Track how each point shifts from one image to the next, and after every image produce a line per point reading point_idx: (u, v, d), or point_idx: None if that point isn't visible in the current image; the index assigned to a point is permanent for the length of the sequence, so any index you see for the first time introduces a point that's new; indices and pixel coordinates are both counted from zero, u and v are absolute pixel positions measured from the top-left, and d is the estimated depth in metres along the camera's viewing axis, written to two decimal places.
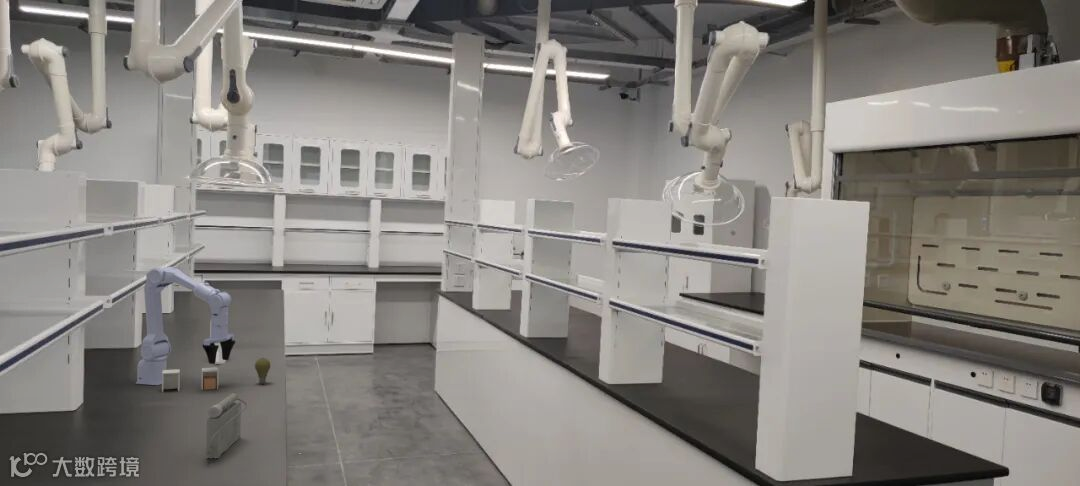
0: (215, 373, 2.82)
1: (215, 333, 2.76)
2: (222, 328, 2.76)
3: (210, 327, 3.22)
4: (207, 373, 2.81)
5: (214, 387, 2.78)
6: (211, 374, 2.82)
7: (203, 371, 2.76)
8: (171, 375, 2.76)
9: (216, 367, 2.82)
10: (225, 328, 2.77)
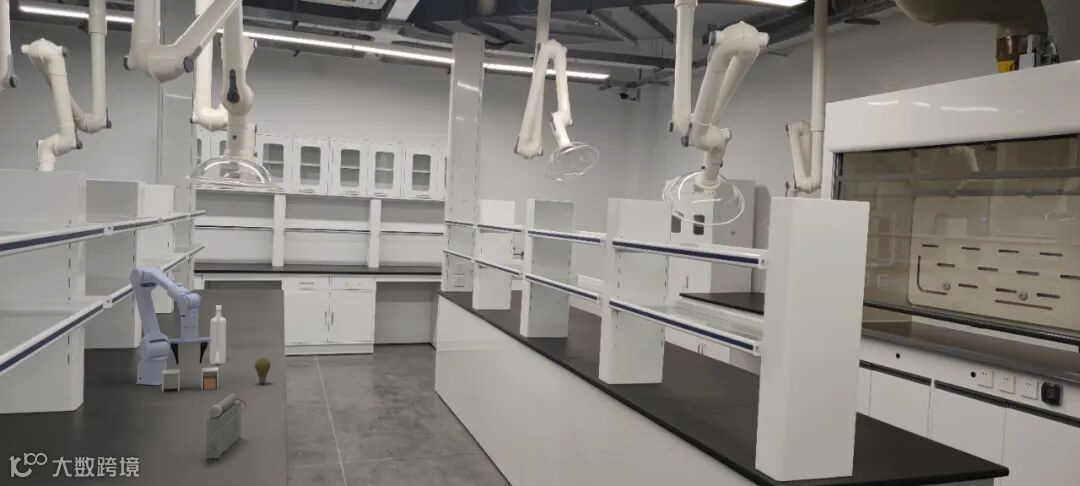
0: (215, 373, 2.82)
1: None
2: (184, 329, 2.73)
3: (210, 327, 3.22)
4: (207, 373, 2.81)
5: (214, 387, 2.78)
6: (211, 374, 2.82)
7: (203, 371, 2.76)
8: (171, 375, 2.76)
9: (216, 367, 2.82)
10: (188, 330, 2.73)
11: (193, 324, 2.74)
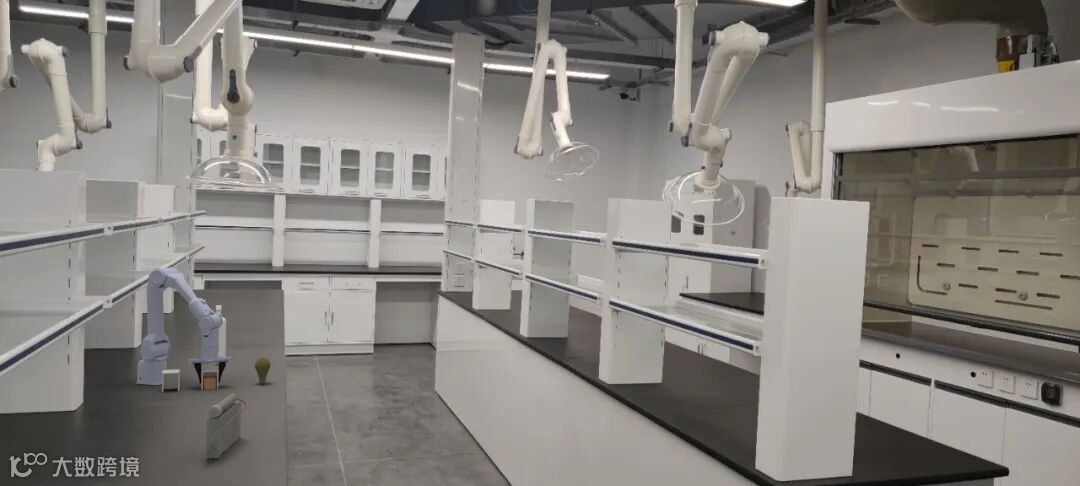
0: (215, 373, 2.82)
1: (202, 354, 2.77)
2: (206, 349, 2.76)
3: None
4: (207, 373, 2.81)
5: (214, 387, 2.78)
6: (211, 374, 2.82)
7: (203, 371, 2.76)
8: (171, 375, 2.76)
9: (216, 367, 2.82)
10: (209, 350, 2.76)
11: (216, 344, 2.78)
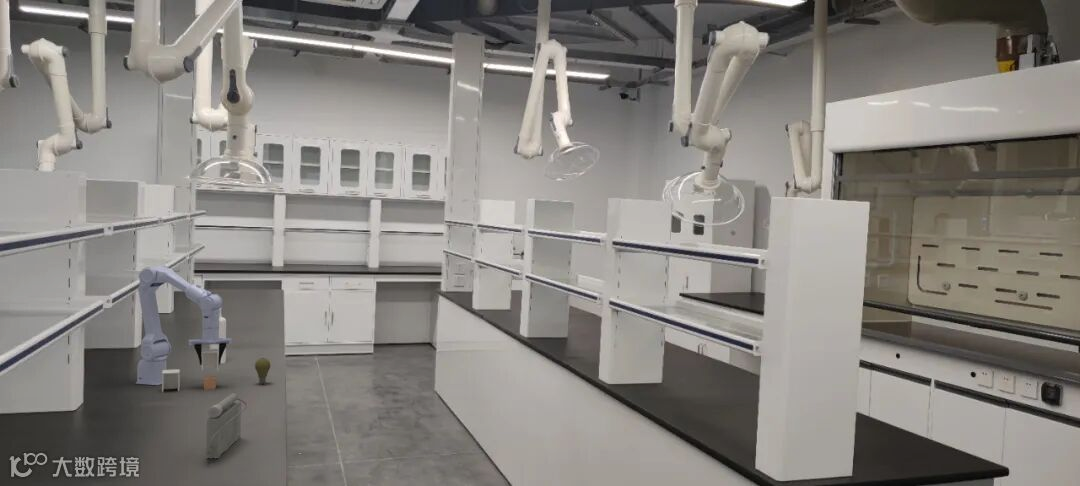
0: (215, 354, 2.82)
1: (202, 335, 2.77)
2: (206, 330, 2.76)
3: None
4: (207, 354, 2.81)
5: (214, 387, 2.78)
6: (211, 355, 2.82)
7: (203, 352, 2.76)
8: (171, 375, 2.76)
9: None
10: (209, 331, 2.76)
11: (216, 325, 2.78)
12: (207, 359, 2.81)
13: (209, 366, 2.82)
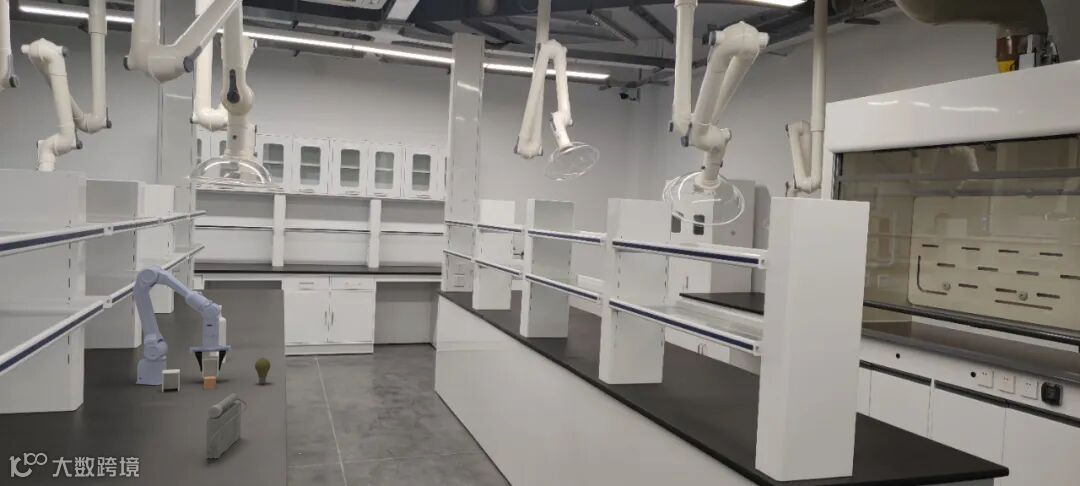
0: (215, 361, 2.91)
1: None
2: (206, 338, 2.85)
3: None
4: (208, 361, 2.90)
5: (214, 387, 2.78)
6: (211, 362, 2.90)
7: (204, 359, 2.84)
8: (171, 375, 2.76)
9: (216, 356, 2.91)
10: (209, 339, 2.85)
11: (218, 332, 2.88)
12: (207, 366, 2.90)
13: (209, 373, 2.90)
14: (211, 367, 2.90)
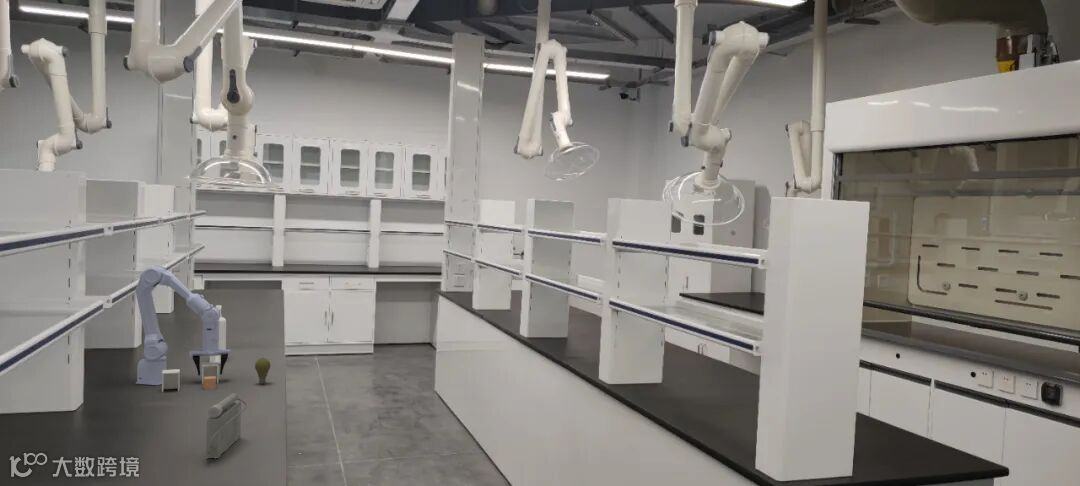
0: (215, 368, 2.91)
1: (202, 346, 2.86)
2: (206, 342, 2.85)
3: None
4: (207, 368, 2.90)
5: (214, 387, 2.78)
6: (211, 369, 2.91)
7: (204, 366, 2.85)
8: (171, 375, 2.76)
9: (216, 362, 2.91)
10: (209, 343, 2.85)
11: (218, 336, 2.88)
12: (207, 372, 2.90)
13: None
14: (211, 373, 2.91)
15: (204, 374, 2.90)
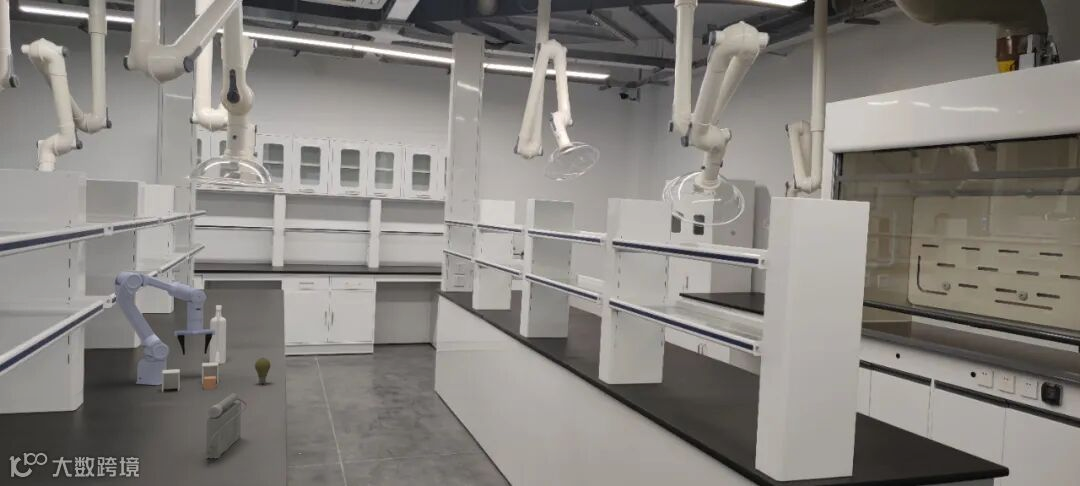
0: (215, 368, 2.91)
1: (187, 326, 2.92)
2: (191, 322, 2.91)
3: (210, 327, 3.22)
4: (207, 368, 2.90)
5: (214, 387, 2.78)
6: (211, 369, 2.91)
7: (204, 366, 2.85)
8: (171, 375, 2.76)
9: (216, 362, 2.91)
10: (194, 322, 2.91)
11: None
12: (207, 372, 2.90)
13: None
14: (211, 373, 2.91)
15: (204, 374, 2.90)
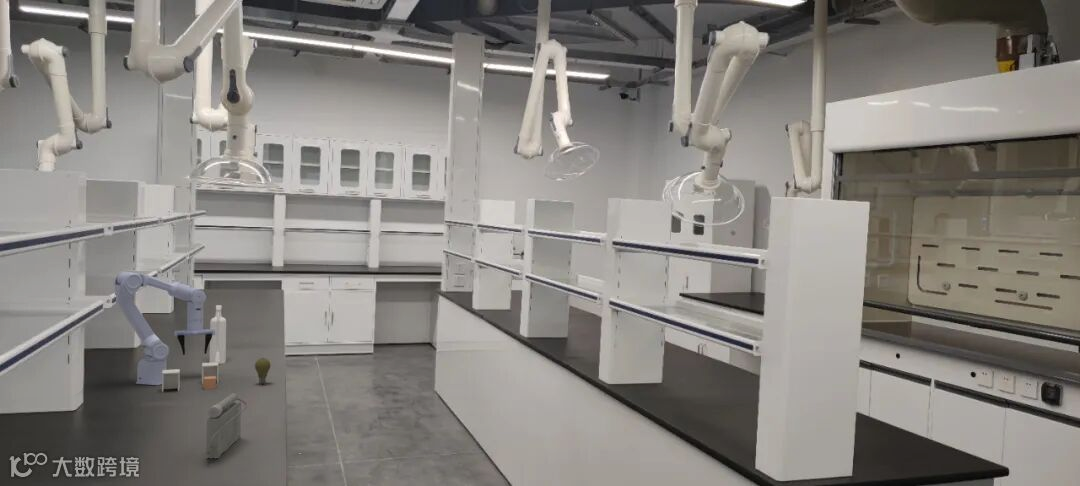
0: (215, 368, 2.91)
1: (187, 326, 2.92)
2: (191, 322, 2.91)
3: (210, 327, 3.22)
4: (207, 368, 2.90)
5: (214, 387, 2.78)
6: (211, 369, 2.91)
7: (204, 366, 2.85)
8: (171, 375, 2.76)
9: (216, 362, 2.91)
10: (194, 322, 2.91)
11: None
12: (207, 372, 2.90)
13: None
14: (211, 373, 2.91)
15: (204, 374, 2.90)
